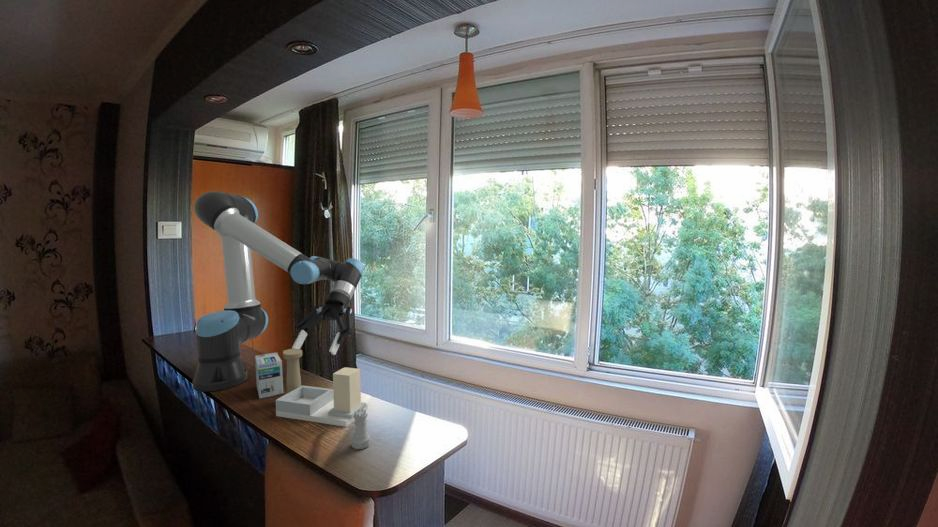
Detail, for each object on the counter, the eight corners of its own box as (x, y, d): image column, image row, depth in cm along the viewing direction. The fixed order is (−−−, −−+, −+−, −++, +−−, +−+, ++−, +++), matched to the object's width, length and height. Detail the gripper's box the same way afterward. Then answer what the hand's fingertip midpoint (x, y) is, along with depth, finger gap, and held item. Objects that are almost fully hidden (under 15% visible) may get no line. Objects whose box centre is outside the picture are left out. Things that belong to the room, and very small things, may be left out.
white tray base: (276, 416, 96) (274, 371, 95) (302, 400, 106) (300, 359, 105) (348, 427, 90) (347, 379, 90) (369, 409, 100) (368, 366, 99)
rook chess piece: (363, 452, 80) (362, 417, 79) (347, 448, 81) (346, 414, 81) (374, 441, 84) (374, 408, 83) (359, 437, 85) (358, 405, 85)
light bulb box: (283, 393, 110) (282, 360, 109) (259, 399, 106) (257, 364, 106) (279, 382, 119) (277, 351, 118) (255, 387, 115) (254, 355, 114)
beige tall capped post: (289, 406, 101) (288, 355, 100) (281, 400, 106) (280, 351, 105) (306, 401, 105) (305, 352, 104) (298, 394, 109) (296, 347, 108)
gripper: (376, 303, 124) (353, 359, 111) (315, 301, 130) (286, 353, 117) (367, 291, 118) (342, 348, 105) (304, 289, 125) (273, 343, 111)
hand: (313, 351), depth 111 cm, fingers open, 13 cm apart
